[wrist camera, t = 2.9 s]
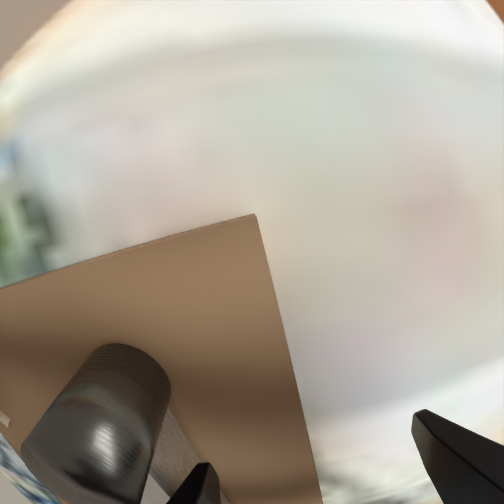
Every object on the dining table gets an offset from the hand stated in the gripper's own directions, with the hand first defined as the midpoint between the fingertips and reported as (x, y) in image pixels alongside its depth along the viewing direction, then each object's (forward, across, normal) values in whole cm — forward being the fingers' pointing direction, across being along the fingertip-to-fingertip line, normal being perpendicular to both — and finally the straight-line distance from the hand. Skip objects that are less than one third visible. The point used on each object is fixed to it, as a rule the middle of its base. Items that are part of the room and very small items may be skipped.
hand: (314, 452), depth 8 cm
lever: (+1, +5, +4) cm, 7 cm away
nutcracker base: (+3, +8, +4) cm, 10 cm away
